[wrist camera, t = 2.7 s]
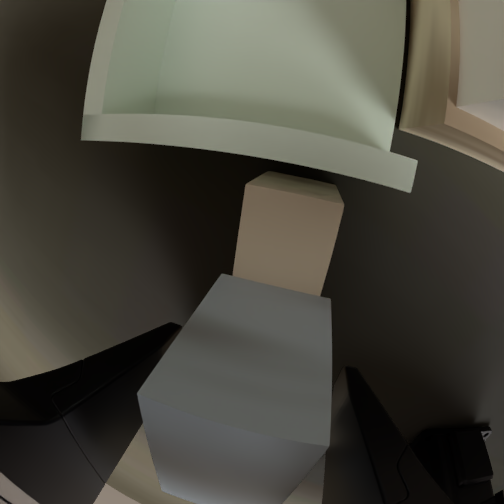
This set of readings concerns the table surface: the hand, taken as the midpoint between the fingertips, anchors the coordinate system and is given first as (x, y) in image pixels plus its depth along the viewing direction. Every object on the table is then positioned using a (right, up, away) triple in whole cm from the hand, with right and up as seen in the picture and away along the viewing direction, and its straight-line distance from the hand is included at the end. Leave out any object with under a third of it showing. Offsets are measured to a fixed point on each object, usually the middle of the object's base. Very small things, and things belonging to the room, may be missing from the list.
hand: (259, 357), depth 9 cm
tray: (+1, +14, -2) cm, 15 cm away
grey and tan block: (+1, +1, +3) cm, 4 cm away
